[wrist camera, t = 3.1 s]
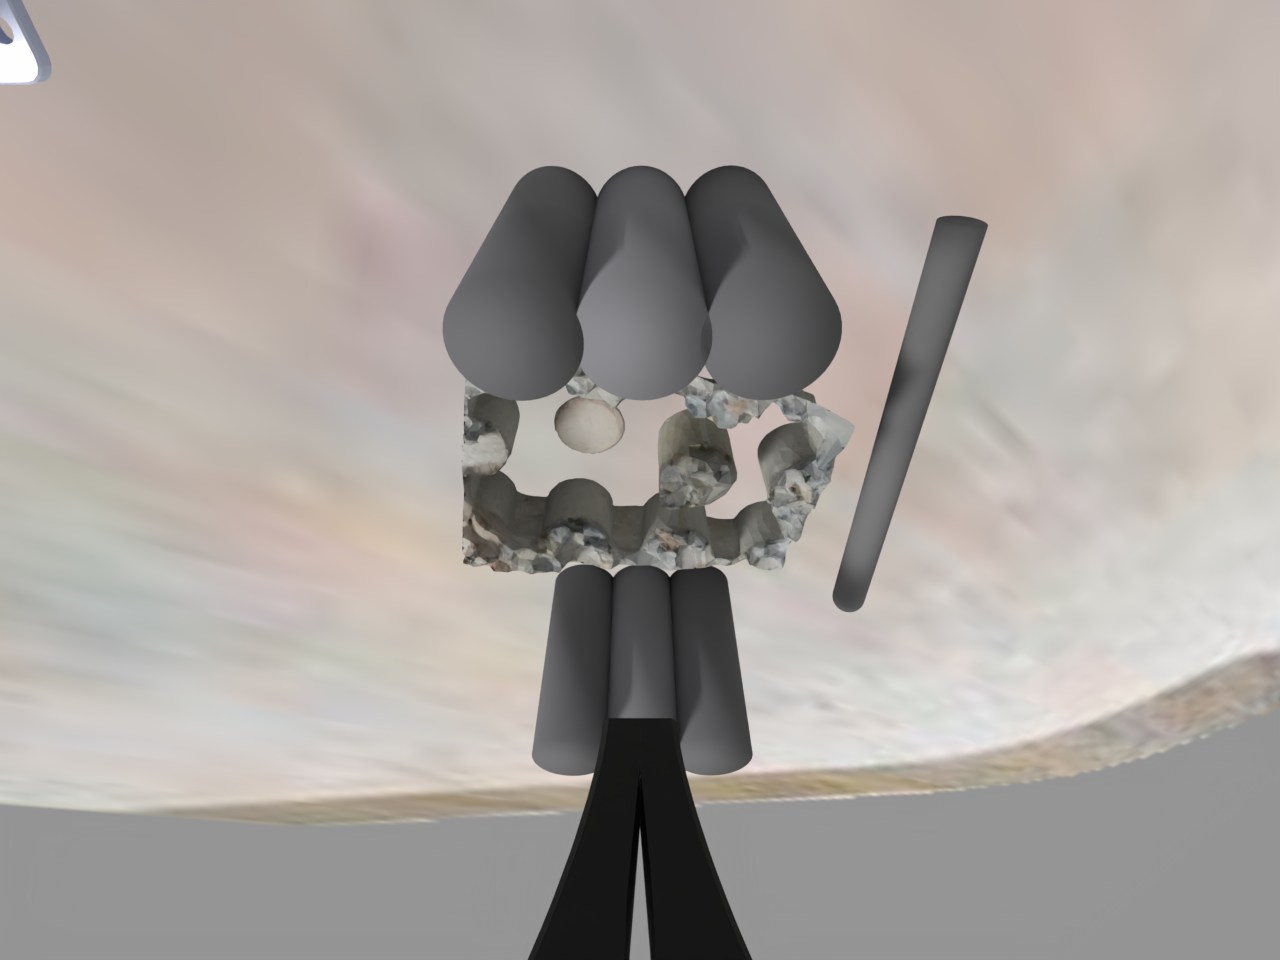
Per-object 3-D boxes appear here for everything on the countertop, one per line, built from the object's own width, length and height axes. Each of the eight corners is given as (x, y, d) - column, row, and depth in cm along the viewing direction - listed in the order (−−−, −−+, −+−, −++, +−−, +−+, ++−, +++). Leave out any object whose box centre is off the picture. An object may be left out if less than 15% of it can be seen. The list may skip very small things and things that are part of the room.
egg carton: (471, 484, 22) (442, 570, 19) (485, 280, 18) (450, 348, 15) (761, 532, 24) (779, 620, 21) (843, 354, 19) (883, 432, 16)
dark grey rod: (929, 215, 16) (947, 230, 15) (976, 215, 16) (996, 230, 15) (826, 595, 26) (833, 618, 25) (856, 594, 26) (864, 618, 25)
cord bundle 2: (502, 165, 16) (429, 271, 10) (779, 164, 16) (855, 271, 10) (514, 262, 17) (456, 400, 12) (768, 262, 17) (828, 400, 12)
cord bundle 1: (552, 564, 24) (527, 736, 19) (730, 563, 24) (756, 735, 19) (557, 605, 26) (535, 776, 20) (725, 605, 26) (748, 775, 20)
